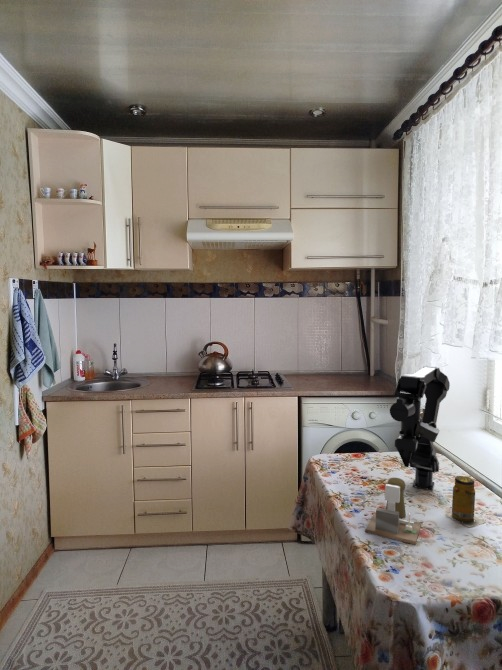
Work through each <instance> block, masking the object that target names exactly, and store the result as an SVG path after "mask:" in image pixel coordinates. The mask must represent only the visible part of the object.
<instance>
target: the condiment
mask: <svg viewBox="0 0 502 670" xmlns="http://www.w3.org/2000/svg"><path fill="white" fill-rule="evenodd" d="M451 503H452V504H451V512H450V513H445V514H444V515H445V516H446V517H448V518H451V519H452V520H454V521H456V522H458V523H460V524H462V525H463V526H466V527H468V528H471V527H472V528H473V527H476V526H479V525H482V524H485V523H486V521H484V520H482V519H481V518H478V517H477V516H475V506H476V505H475V503H476V489H475V480H474V479H473V478H471V477H470V476H464V475H457V476H455V478H454V485H453V487H452V501H451Z"/></svg>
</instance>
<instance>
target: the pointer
mask: <svg viewBox="0 0 502 670" xmlns="http://www.w3.org/2000/svg"><path fill="white" fill-rule="evenodd" d="M407 520H408V525H406V530H409V531H412V526H410V521H411V513H408V519H407Z"/></svg>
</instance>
